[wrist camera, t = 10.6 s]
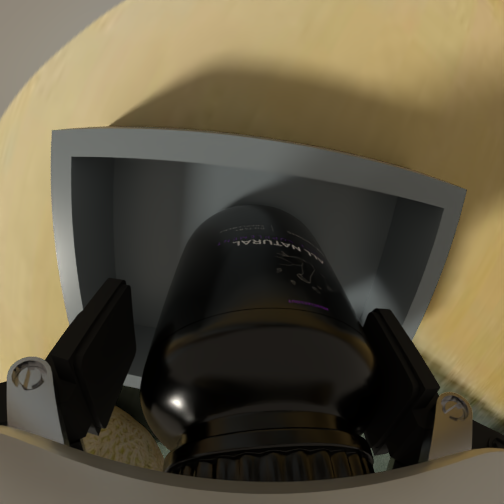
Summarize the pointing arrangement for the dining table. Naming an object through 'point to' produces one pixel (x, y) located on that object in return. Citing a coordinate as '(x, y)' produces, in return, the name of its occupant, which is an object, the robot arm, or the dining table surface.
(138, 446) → the cantaloupe
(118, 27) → the dining table surface
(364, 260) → the tote
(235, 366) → the supplement bottle
